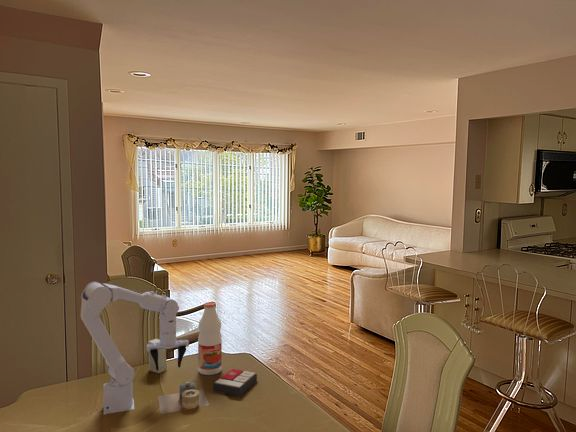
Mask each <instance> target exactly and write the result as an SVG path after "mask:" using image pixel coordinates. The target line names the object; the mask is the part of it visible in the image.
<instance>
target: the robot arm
mask: <svg viewBox="0 0 576 432" xmlns="http://www.w3.org/2000/svg"><path fill="white" fill-rule="evenodd" d="M155 292H156V291H152V290H150V291H145V292H143V293H140V292H136V291H133V290H131V289H127V288H124V287H121V286H118V285H114V284H109V283H100V282H98V281H92V282H89V283H87V285H86V286H85V288H84V289H83V290H82V293H81V295H80V296H81V305H80V314H79V316H80V319H81V321H82V322H83V324H84V326H85V328H86V329H87V331H88V333H89V334H90V336H91V338H92V340H93V341H94V343H95V345H96V346H97V348H98V350H99V351H100V353H101V355H102V356H103V359H104V360H105V363H106V365H107V373H108V374H109V375H110V379H109V382H105V383H103V385H102V386H103V394H102V395H103V396H102V397H103V400H102V407H103V416H105V415H108V414H115V413H120V412H125V411H131V410H135V400H134V399H135V398H134V397H133V396H134V395H133V380H134V378H135V374H136V373H135V369H134V368H133V367H132V365H131V366H130V365H129V364H128V363H127V362H126V360H125V359H124V357H123V356H122V355H121V352H120V351H119V349H118V348H117V345H116V344H115V341H113V339H112V337H111V335H110V333H109V332H108V330H107V328H106V327H105V325H104V323H103V321H102V320H101V318H100V315H101V313H102V311H103V310H104V309H105V308H106V306H107V305H108V304H109V303H110V302H112V303H114V302H115V301H116V300H117V301H118V300H119V299H121V300H125V301H129V302H133V303H137V304H138V305H139V307H140V308H142V309H145V310H149V311H153V312H155V313H159V339H160V342H157V343H153V344H148V343H147V344H146V352H147V353H148V352H149V351H150V352H151V355H152V357H153V359H154V362H155V365H156V370H158V369H159V368H158V350H160V349H166V350H168V349H169V350H170V349H173V348H176V349H177V367H178V368H181V365H182V361H183V358H184V355H185V353H186V352H187V348H189V347H190V346H189V345H190V341H189V340H188V339H177V314H178V312H179V311H180V306H179V304H178V302H177V301H176V300H175V299H173V298H171V297H168V296H167V295H164V294H163V295H160V294H156V293H155Z"/></svg>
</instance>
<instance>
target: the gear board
mask: <svg viewBox="0 0 576 432" xmlns="http://www.w3.org/2000/svg"><path fill="white" fill-rule="evenodd" d="M191 389H194V390H198V392H199V405H198V406H197V407H196V408H192V409H199V408H205V407H209V406H210V403H209V401H208V398H207V396H206V394H205V392H204V389H201V388H200V389H197V385H196V383H195V382H193V381H185V382H183V383H181V384H179V392H175V393H170V394H164V395H159V396H158V395H157V400H158V405H159V411H160V415H164V414H165V415H166V414H171V413H175V412H176V413H177V412H183V411H188V410H189V411H190V409H186V408H183V407H182V393H183V392H184V391H186V390H191ZM188 395H189V396H190V395H193V394H188ZM192 409H191V410H192Z"/></svg>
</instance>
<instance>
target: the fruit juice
mask: <svg viewBox="0 0 576 432" xmlns="http://www.w3.org/2000/svg"><path fill="white" fill-rule="evenodd" d="M203 308H204V310H203V313H202V317H201V319H199V322H198V330H199V334H198V336H197V337H198V338H197V345H198V346H197V354H198V355H197V358H198V359H197V360H198V363H197V366H198V367H197V368H198V373H199V374H200V375H205V376H213V375H217V374H219V373H221V372H222V363H223V362H222V360H223V359H222V356H223V355H222V349H223V348H222V345H223V342H222V341H223V340H222V333H221V328H222V322H221V320H220V318H219V315H218V313H217V310H216V308H217V303H216V302H213V301H210V302H209V301H208V302H204V303H203Z"/></svg>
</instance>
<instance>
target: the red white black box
mask: <svg viewBox="0 0 576 432" xmlns="http://www.w3.org/2000/svg"><path fill="white" fill-rule="evenodd" d="M257 378H258V374H257V373H256V372H255V371H254V372H252V371H247V370H241V369H236V368H232V369H231V370H228V372H226V373H225V374H223V375H222V376H221V377H220V378H218V379H217V380H215V382H213V385H212V386H213V387H212V389H213V390H212V391H213V392H218V393H223V394H225V395H226V396H230V397H233V398H234V397H235V398H241V397H242V396H243V395H244V394H245V393H246V391H248V390H249V389H250V388H251V387H252V386H253V385H255V383H256V382H257V381H258V379H257Z"/></svg>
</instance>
